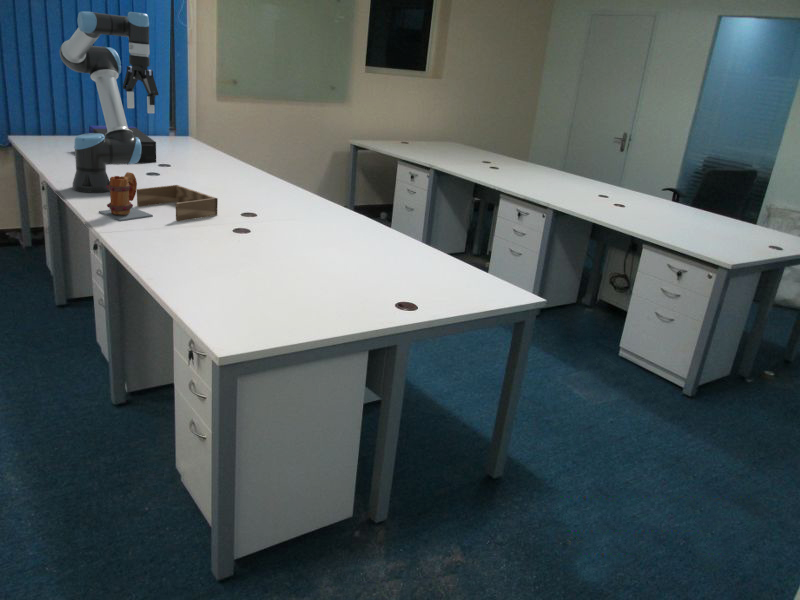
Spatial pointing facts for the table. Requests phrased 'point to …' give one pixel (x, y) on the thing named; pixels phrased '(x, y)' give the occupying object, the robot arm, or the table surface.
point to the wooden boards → (189, 201)
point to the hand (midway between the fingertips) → (140, 110)
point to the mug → (122, 193)
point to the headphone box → (146, 143)
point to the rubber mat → (132, 215)
